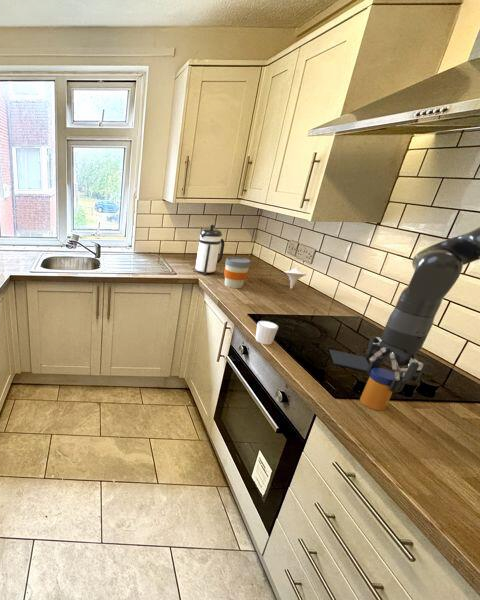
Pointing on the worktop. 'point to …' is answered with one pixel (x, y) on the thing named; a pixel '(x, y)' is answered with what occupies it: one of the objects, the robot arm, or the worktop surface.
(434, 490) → the worktop surface
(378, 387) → the jar
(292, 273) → the mushroom
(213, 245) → the coffee press
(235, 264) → the reusable coffee cup
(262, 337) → the white cylinder
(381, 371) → the jar lid
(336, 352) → the coaster
